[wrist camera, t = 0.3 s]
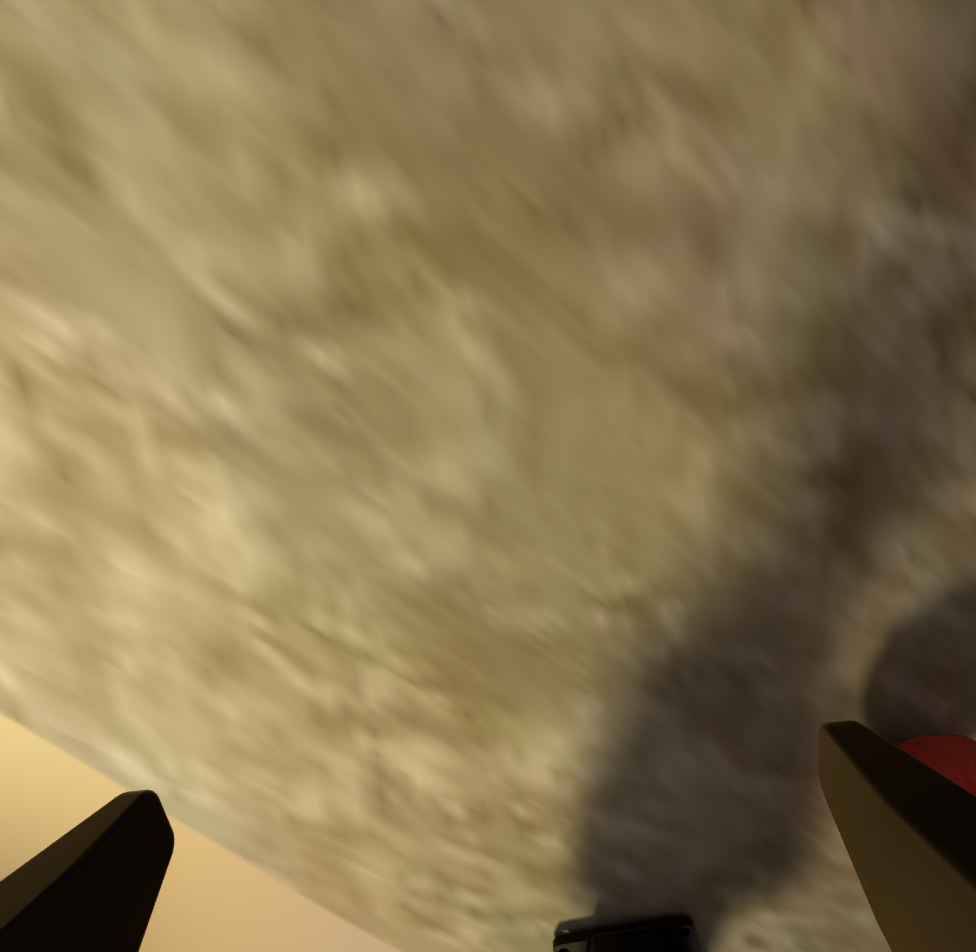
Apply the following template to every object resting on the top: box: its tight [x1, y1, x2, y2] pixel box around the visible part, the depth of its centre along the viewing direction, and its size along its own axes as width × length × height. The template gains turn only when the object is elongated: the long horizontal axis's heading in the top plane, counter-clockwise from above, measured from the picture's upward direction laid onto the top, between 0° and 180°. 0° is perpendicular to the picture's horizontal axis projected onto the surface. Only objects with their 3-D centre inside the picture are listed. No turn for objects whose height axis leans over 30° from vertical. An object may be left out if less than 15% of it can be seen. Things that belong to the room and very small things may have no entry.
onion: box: [897, 735, 976, 796], centre depth 21 cm, size 6×6×8 cm
